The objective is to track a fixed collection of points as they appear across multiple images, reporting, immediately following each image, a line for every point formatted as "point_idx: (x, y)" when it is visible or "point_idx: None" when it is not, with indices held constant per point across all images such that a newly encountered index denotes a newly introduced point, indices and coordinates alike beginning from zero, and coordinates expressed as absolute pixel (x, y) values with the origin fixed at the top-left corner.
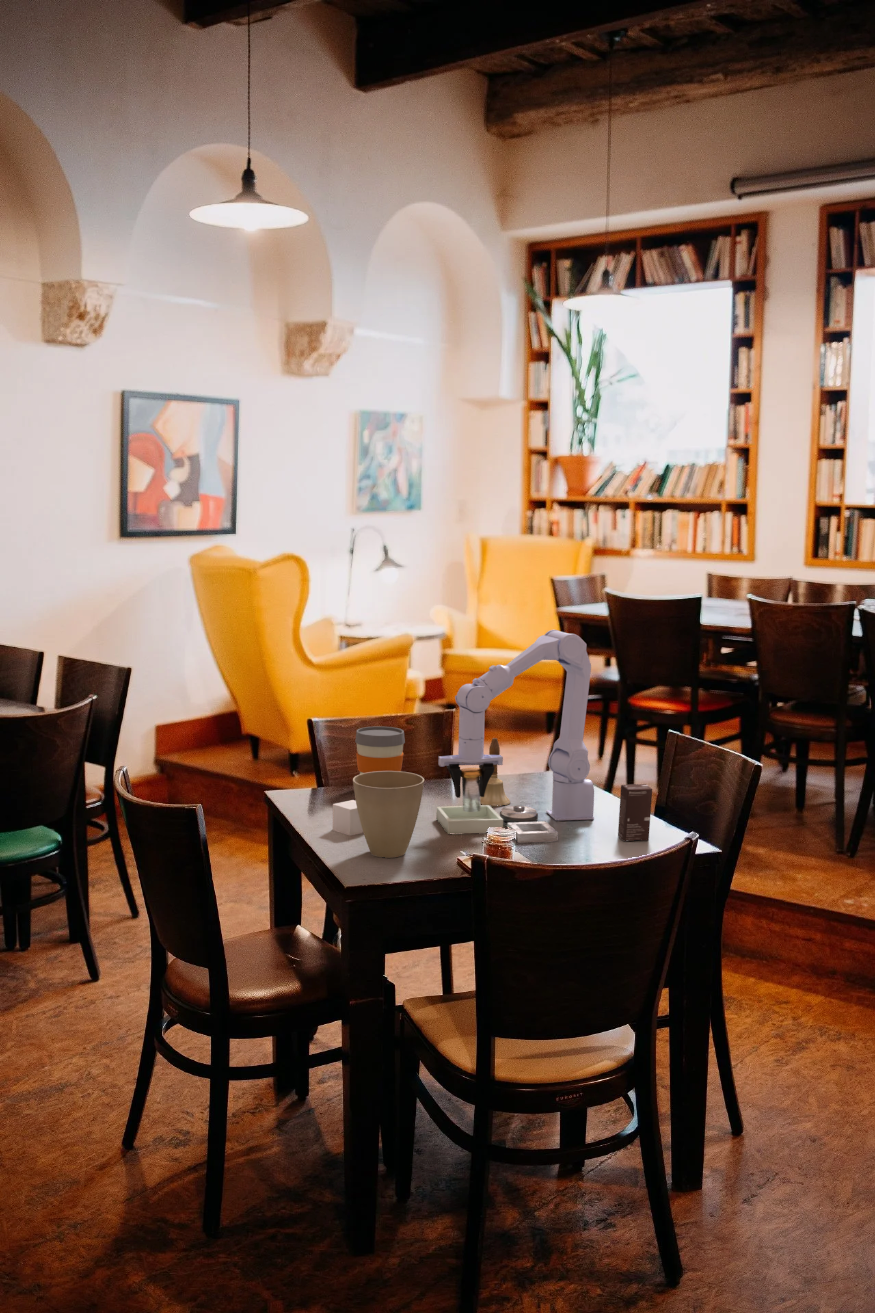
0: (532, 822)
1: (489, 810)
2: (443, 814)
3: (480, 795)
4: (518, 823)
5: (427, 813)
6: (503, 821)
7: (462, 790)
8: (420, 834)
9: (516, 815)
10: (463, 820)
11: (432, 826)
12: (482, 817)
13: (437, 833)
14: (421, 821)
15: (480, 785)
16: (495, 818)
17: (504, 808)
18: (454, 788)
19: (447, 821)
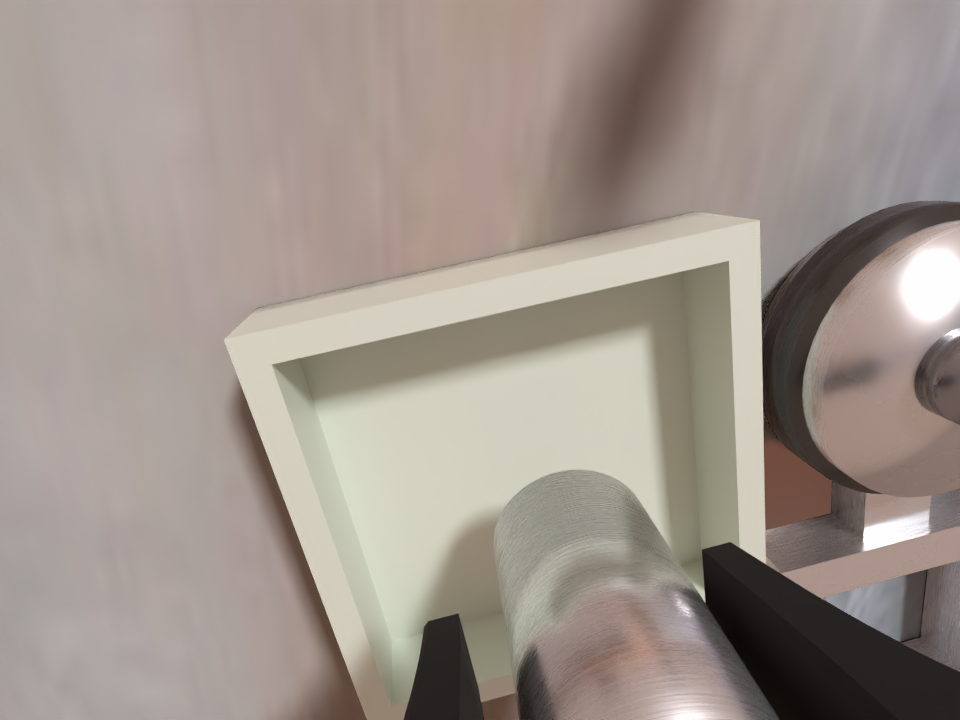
0: (941, 543)
1: (725, 353)
2: (320, 577)
3: (710, 605)
4: (847, 577)
5: (140, 88)
6: (772, 426)
7: (519, 718)
8: (192, 669)
9: (890, 494)
10: (483, 692)
11: (250, 492)
12: (643, 291)
13: (304, 633)
14: (136, 372)
15: (785, 669)
16: (725, 518)
17: (863, 326)
18: (414, 698)
19: (364, 703)
